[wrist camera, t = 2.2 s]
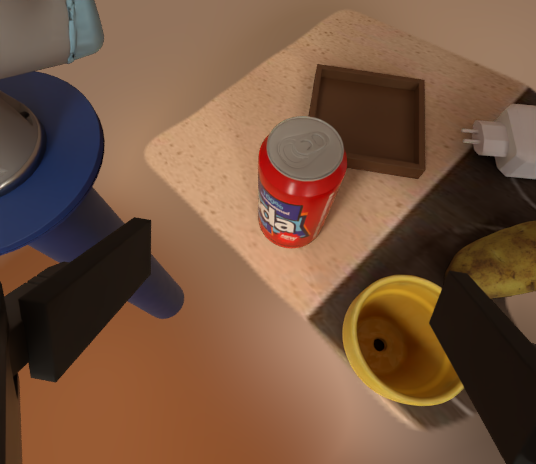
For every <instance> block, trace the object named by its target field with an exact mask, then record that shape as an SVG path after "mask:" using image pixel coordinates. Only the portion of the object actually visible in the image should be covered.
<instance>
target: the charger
mask: <svg viewBox="0 0 536 464" xmlns="http://www.w3.org/2000/svg"><path fill="white" fill-rule="evenodd" d="M461 132H466V133H472V139H463V143H473V146H474V150H475V151H476V152H477V154H478V155H485V156H495V160H496V165H497V168H498V169H499V170H500V171H501V172H502V173H503V174H504V175H505V176H506V177H517V178H528V179H536V106H533V105H521V104H511V105H510V106H508V107H507V108H506V109H505V110H504V111H503V112H502V113H501V114H500V115H499V116H498V117H497V119H496V120H495V121H494V122H493V121H482V120H475V121H474V124H473V129H463V128H462V129H461Z"/></svg>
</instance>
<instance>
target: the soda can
mask: <svg viewBox="0 0 536 464" xmlns="http://www.w3.org/2000/svg"><path fill="white" fill-rule="evenodd" d="M346 169H347V156H346V152H345V149H344V146H343V142H342V139H341V137H340V135H339V134H338V132H337V131H336V130H335V129H334V128H333V127H332V126H331V125H329V124H328V123H326V122H324V121H322V120H320V119H317V118H314V117H308V116H298V117H292V118H289V119H286V120H284V121H282V122H280V123H279V124H278V125H276V126H275V127H274V128H273V130H272V131H271V133H270V134H269V135H268V136H267V137H266V138H265V140H264V141H263V143H262V145H261V148H260V151H259V157H258V220H259V225H260V228H261V230H262V232H263V234H264V235H265V236H266V237H267V238H268V239H269V240H270V241H271V242H272V243H274V244H276V245H278V246H281V247H285V248H299V247H303V246H305V245H307V244H309V243H311V242H312V241H313V240H314V239H315V238H316V237H317V236H318V234H319V233H320V231H321V229H322V227H323V224H324V222H325V220H326V218H327V215H328V213H329V211H330V208H331V206H332V204H333V201H334V199H335V197H336V194H337V192H338V190H339V187H340V185H341V183H342V180H343V178H344V175H345V173H346Z"/></svg>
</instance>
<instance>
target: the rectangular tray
mask: <svg viewBox="0 0 536 464" xmlns="http://www.w3.org/2000/svg"><path fill="white" fill-rule="evenodd" d="M309 117H314V118H317V119H320V120H322V121H324V122H326V123H328V124H329V125H331V126H332V127H333V128H334V129H335V130H336V131H337V132H338V134H339V135H340V137H341V139H342V142H343V146H344V149H345V152H346V156H347V168H354V169H360V170H366V171H372V172H378V173H385V174H391V175H397V176H403V177H409V178H416V179H418V178H419V177H420V176H421V175H422V174H423V172H424V171H425V84H424V80H421V79H414V78H408V77H401V76H394V75H388V74H381V73H374V72H367V71H361V70H354V69H347V68H341V67H334V66H327V65H320V64H317V69H316V74H315V80H314V86H313V92H312V98H311V105H310V111H309Z"/></svg>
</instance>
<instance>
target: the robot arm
mask: <svg viewBox="0 0 536 464" xmlns="http://www.w3.org/2000/svg"><path fill="white" fill-rule="evenodd" d="M103 42H104V34H103V30H102V25H101V22H100V18H99V14H98V11H97V7H96V4H95V1H94V0H0V79H3V78H8V77H12V76H16V75H20V74H24V73H28V72H33V71H37V70H41V69H45V68H49V67H53V66H57V65H62V64H70V63H72V62H73V61H74V60H76V59H79V58H82V57H85V56H88V55H91V54H94V53H96V52H97V51H99V49H100V48H101V47H102V45H103ZM46 143H47V138H46V132H45V129H44V127H43V125H42V124H41V122H40V121H39V120H38V118H37V117H36V116H35V115H34V114H33V113H32V111H31V110H30V109H29V108H28V107H27V106H25V105H24V104H22V103H20V102H19V101H17V100H16V99H14V98H12V97H11V96H9V95H7V94H6V93H4V92H2V91H1V90H0V197H1V196H4V195H6V194H7V193H9V192H11V191H13V190H14V189H16V188H17V187H19V186H20V185H21V184H23V183H24V182H25V181H26V180H27V179H28V178H29V177H30V176H31V175H32V174H33V173H34V172H35V170H36V169H37V167H38V166H39V164H40V163H41V161H42V159H43V156H44V153H45V150H46ZM150 274H151V220H147V219H141V218H135V217H134V218H133V219H131V220H130V221H128V222H127V223H126V224H124V225H123V226H121V227H120V228H118V229H117V230H116V231H114V232H113V233H111V234H110V235H108V236H107V237H106V238H104V239H103V240H101V241H100V242H98V243H97V244H96V245H94V246H93V247H91V248H90V249H89V250H87V251H86V252H84V253H83V254H81V255H80V256H79V257H77V258H76V259H74V260H73V261H71V262H70V263H68V262H62V263H59V264H56V265H54V266H51V267H48V268H47V269H45V270H44V271H42V272H41V273H39V274H38V275H37V277H36V276H35V277H33V278H32V279H30V280H29V281H28V282H27V283H24V284H23V285H21V286H20V287H18V288H17V289H15V290H14V291H12V292H11V293H9V294H8V295H6V296H4V294H3V289H2V284H1V282H0V464H22V443H21V414H20V386H19V376H18V372H19V371H20V370H21V369H22V368H23V367H24V366H25V365H26V364H27V363H29V369H30V374H31V378H35V379H41V380H46V381H51V382H57V380H58V379H59V378H60V377H61V376H62V375H63V374H64V373H65V371H66V370H67V369H68V368H69V367H70V366H71V365H72V363H73V362H74V361H75V360H76V359H77V358H78V357H79V355H80V354H81V353H82V352H83V351H84V350H85V348H86V347H87V346H88V345H89V344H90V343H91V342H92V341H93V339H94V338H95V337H96V336H97V335H98V334H99V332H100V331H101V330H102V329H103V328H104V327H105V326H106V324H107V323H108V322H109V321H110V320H111V319H112V318H113V317H114V315H115V314H116V313H117V312H118V311H119V310H120V309H121V307H122V306H123V305H124V304H125V303H126V302H127V301H128V299H129V298H130V297H131V296H132V295H133V294H134V293H135V291H136V290H137V289H138V288H139V287H140V286H141V285H142V283H143V282H144V281H145V280H146V279H147V278H148V277H149V275H150ZM429 324H430V326H431V328H432V330H433V332H434V333H435V335H436V337H437V339H438V341H439V343H440V344H441V346H442V348H443V350H444V352H445V353H446V355H447V357H448V359H449V361H450V363H451V364H452V366H453V368H454V370H455V372H456V374H457V375H458V377H459V379H460V381H461V383H462V384H463V386H464V388H465V390H466V392H467V394H468V395H469V397H470V399H471V401H472V403H473V404H474V406H475V408H476V410H477V412H478V414H479V415H480V417H481V419H482V421H483V423H484V424H485V426H486V428H487V430H488V432H489V433H490V435H491V437H492V439H493V441H494V442H495V444H496V446H497V448H498V450H499V452H500V454H501V455H502V457H503V459H504V461H505V463H506V464H536V344H534V343H531V342H530V341H529V340H528V339H527V338H526V337H525V336H524V335H523V333H522V332H521V331H520V330H519V329H518V328H517V327H516V326H515V325H514V324H513V323H512V322H511V320H510V319H509V318H508V317H507V316H506V315H505V314H504V313H503V312H502V311H501V310H500V309H499V307H498V306H497V305H496V304H495V303H494V302H493V301H492V300H491V299H490V298H489V297H488V296H487V294H486V293H485V292H484V291H483V290H482V289H481V288H480V287H479V286H478V285H477V284H476V282H475V281H474V280H473V279H472V278H471V277H470V276H469V275H468V274H467V273H462V272H456V271H450V270H449V272H448V274H447V277H446V280H445V282H444V285H443V287H442V290H441V293H440V295H439V298H438V300H437V303H436V305H435V308H434V311H433V313H432V316H431V318H430V321H429Z"/></svg>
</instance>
